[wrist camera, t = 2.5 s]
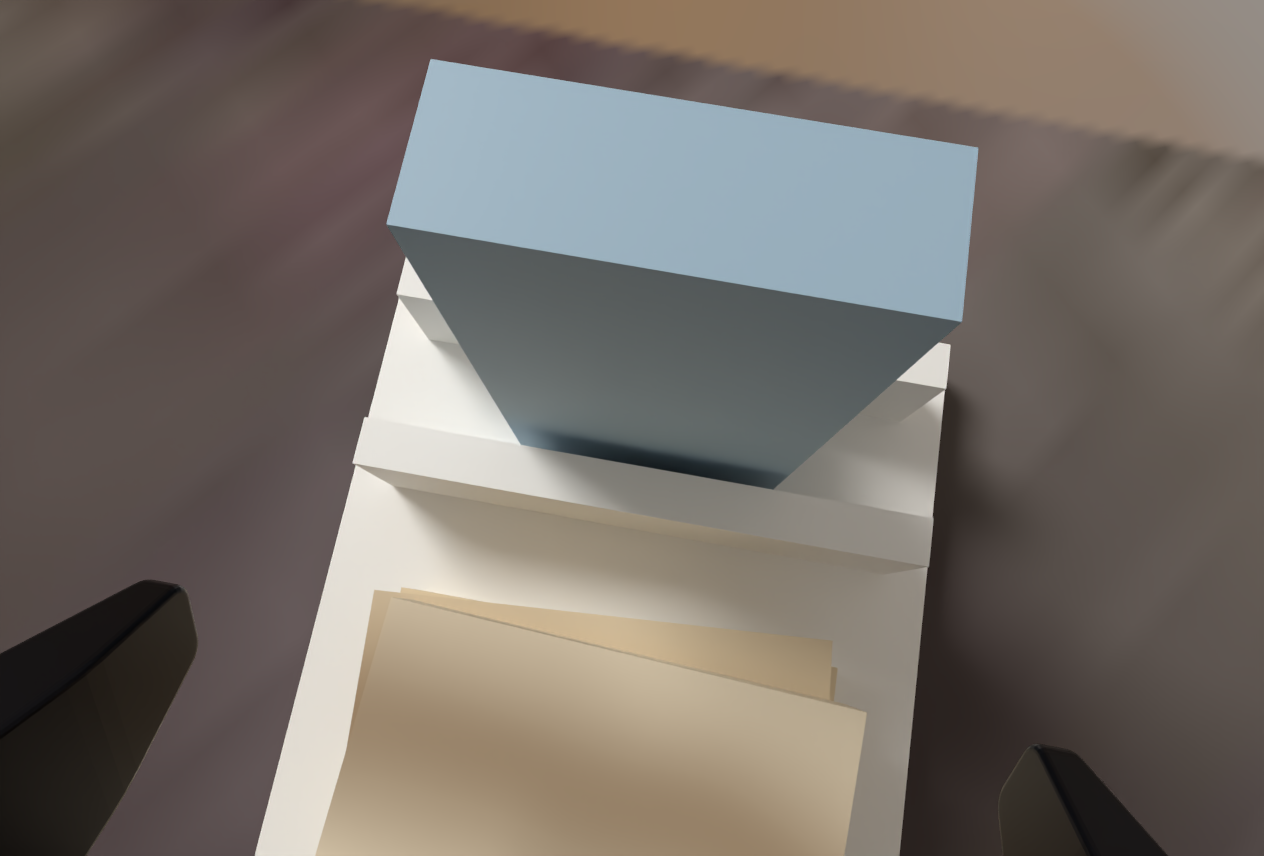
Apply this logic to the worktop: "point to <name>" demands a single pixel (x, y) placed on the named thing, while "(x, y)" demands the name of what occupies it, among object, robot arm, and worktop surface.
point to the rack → (623, 554)
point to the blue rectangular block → (677, 266)
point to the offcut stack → (588, 737)
